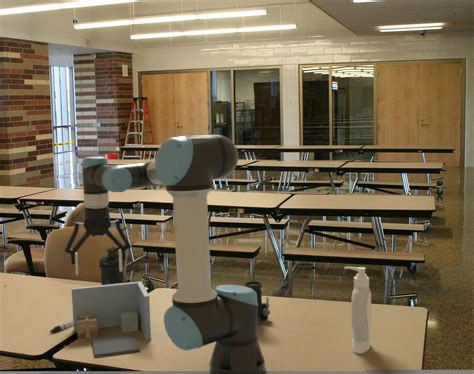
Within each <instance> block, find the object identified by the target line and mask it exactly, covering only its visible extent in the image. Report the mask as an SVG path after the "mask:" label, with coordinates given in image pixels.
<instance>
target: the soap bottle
mask: <svg viewBox="0 0 474 374" xmlns="http://www.w3.org/2000/svg"><path fill="white" fill-rule="evenodd" d="M343 269H344V270H345V269H346V270H348V269H349V270H351V271H352V270H353V271H356V272H357V273H356V275H355V276H354V277H353V290H352V292H351V312H350V313H351V314H350V315H351V317H350V318H351V327H352V328H351V329H352V342H351V350H352V352H353V353H355V354H357V355H360V354H365V353H366V352H368V351H369V350H370V348H371V341H370V340H371V337H370V331H371V330H370V329H371V324H372V322H371V321H372V292H371V289H370V277H368V276H367V273H366V267H364V266H359V267H357V266H344V268H343Z"/></svg>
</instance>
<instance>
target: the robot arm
mask: <svg viewBox="0 0 474 374" xmlns="http://www.w3.org/2000/svg"><path fill="white" fill-rule="evenodd" d="M238 162H239V152H238V148H237V146H236V145H235V143H234V142H233V141H232V140H231V139H230V138H228V137H227V136H224V135H220V134H204V135H203V134H201V135H181V136H173V137H169V138H167V139H165V140H164V141H163V142H162V143H161V145H160V146H159V148H158V149H157V153H156V156H155V159H154V160H151V161H147V162H142V163H130V164H129V163H127V164H115V165H111V164H110V165H109V163H108V159H107V158H106V157H105V156H87V157H84V158H83V159H82V168H81V170H82V184H83V185H82V186H83V187H82V188H83V205H84V206H85V207H84V208H83V213H84V222H78V221H75V222H74V228H73V231H72V233H71V235H70V237H69V240H68V242H67V244H66V246H65V247H64V252H65V253H66V254H70V259H71V260H70V263H71V265H74V266H75V276H78V275H79V257H78V250H79V249H80V248H81V246H82V245H83V244H84V243H85V242H86V240H87V239H88V238H89V237H90V236H92V237H97V236H99V237H101V236H104V235H106V236H107V237H108V238H109V239H110V240H111V241H112V242H113V243H114V244H115V245H116V247H119V248H120V250H119V270H120V272H121V271H122V261H123V260H124V261H126V250H129V249H131V248H132V247H131V244H130V242H129V240H128V239H127V236H126V235H125V233H124V231H123V229H122V228H121V225H120V224H121V223H120V220H119V219H115V220H110V208H109V206H108V205H109V204H110V202H109V199H110V197H109V192H112V193H123V192H126V191H127V190H132V189H134V190H135V189H139V188H141V189H142V188H147V187H148V188H150V187H159V186H163V185H165V187H166V192H167V193H168V194H169V195H170V196H171V197H172V207H173V209H172V210H173V220H174V221H173V225H174V241H175V263H176V280H177V281H176V282H177V290H176V291H175V292H174V293H173V294H172V295H171V296H172V302H171V303H172V306H169V307H168V308H167V309H166V310H165V312H164V315H163V323H164V329H165V331H166V334H167V337H168V338H169V339H170V340H171V342H172V343H173V345H175V346H176V347H177V348H179V349H180V350H183V351H192V350H194V349H200V348H202V347H205V346H208V345H211V344H213V343H215V344H214V347H213V351H212V353H211V357H210V360H209V371H210V372H211V374H263V373H264V372H265V368H266V361H265V360H266V359H265V358H264V354H263V351H262V349H261V346H260V344H259V343H260V342H259V326H258V303H257V294H256V292H255V291H254V290H253V289H251V288H249V287H245V285H239V284H237V285H235V284H221V285H220V284H219V285H217V286H215V288H214V289H213V288H212V278H211V276H212V275H211V257H210V256H211V255H210V254H211V253H210V252H211V251H210V237H209V236H210V233H209V217H208V215H209V214H208V213H209V212H208V195H209V193H210V192H211V191H212V190H213V180H219V179H222V178H225V177H228V176H229V175H231V174H232V172H233V171H234V170H235V169H236V167H237V165H238ZM111 226H113V228H116V231H117V232H118V234H119V236H120V238H121V239H122V241H123V242H124V244H123V243H122V242H121V241H120V240H119V239H118V238H117V237H116V236H115V235H114V234H113V233H112V232H111V230H109V228H110V227H111ZM82 228H84V229H85V230H86V231H84V233H83V234H82V236H81V237H80V238H79V240H78V241H76V243H75V244H74V246H73V243H74V241H75V239H76V237H77V235H78V232H79V231H80V230H81V229H82ZM72 246H73V247H72Z"/></svg>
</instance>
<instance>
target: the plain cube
mask: <svg viewBox="0 0 474 374" xmlns="http://www.w3.org/2000/svg"><path fill="white" fill-rule="evenodd" d="M120 320H121V326H120V329H121V332H122V333H126V332H127V333H128V332H129V333H130V332H136V331H139V324H138V318H137V314H136V311H132V312H123V313H120Z"/></svg>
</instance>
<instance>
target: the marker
mask: <svg viewBox="0 0 474 374" xmlns="http://www.w3.org/2000/svg"><path fill="white" fill-rule="evenodd" d="M70 327H74V324H73V318H72V319H70V320H68V321H65V322H63V323H60V324H58V325H57V326H54V327H53V328H52V329H51V330H49V333H50V334H51V333H52V334H54V333H58V331H59V332H62V331H63V330H66V329H68V328H70Z"/></svg>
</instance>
